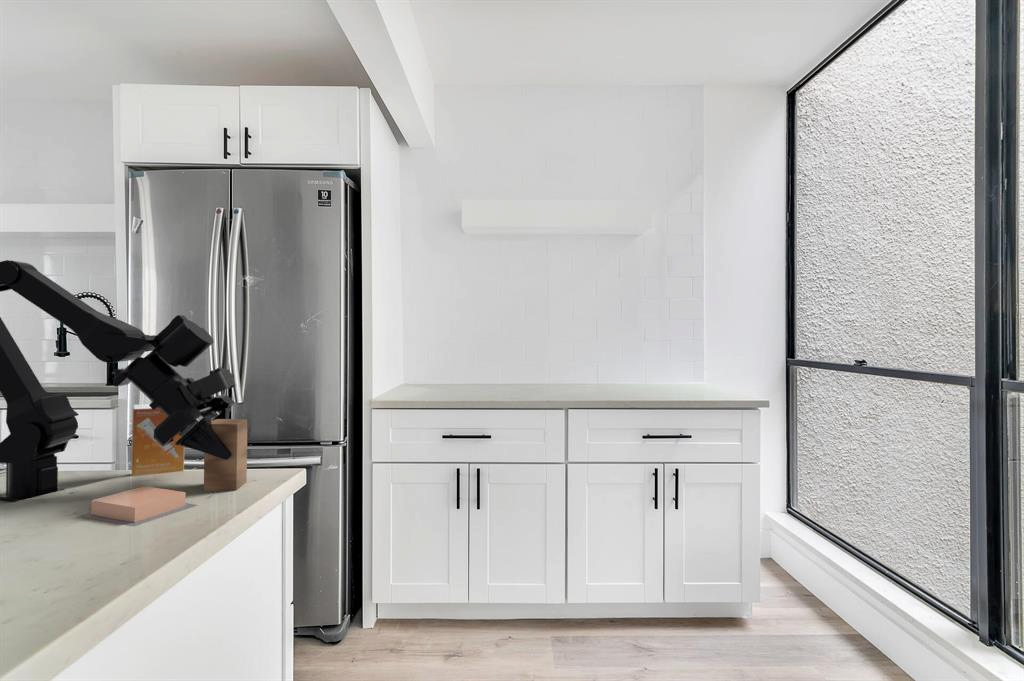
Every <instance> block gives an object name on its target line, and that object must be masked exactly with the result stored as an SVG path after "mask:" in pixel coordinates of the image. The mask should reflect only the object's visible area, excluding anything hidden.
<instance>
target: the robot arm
mask: <svg viewBox="0 0 1024 681" xmlns="http://www.w3.org/2000/svg"><path fill="white" fill-rule="evenodd" d="M6 291H7V292H8V291H14V292H15V293H16V294H18V295H20V296H21V297H22V298H24V299H26V300H27V301H28V302H30V303H32V304H33V305H34V306H36V307H37V308H39V309H40V310H42V311H44V312H45V313H47V314H48V316H49V315H50V316H51V317H52V318H54V319H55V320H56V321H58V322H60V323H61V324H63V325H64V326H66V327H68V328H69V329H70V330H71V331H72V332H73V333H74V334H75V335H76V336H77V338H78V340H79V341H80V343H81V345H82V346H83V347H85V348H86V350H87V351H89V352H90V353H91V355H93V356H94V357H95V358H96V359H98V360H99V361H101V362H104V363H118V362H119V363H120V362H129V361H131V362H130V363H129V364H128V365H127V366H126V367H125V368H117V369H114V378H113V384H112V385H113V387H116V388H117V387H122V386H126V385H127V386H128V385H129V384H130V383H132V384H133V385H134V386H135V387H136V388H137V389H138V390H139V391H141V393H143V395H144V396H145V397H146V398H147V399H149V400H150V401H151V403H150V405H149V406H150V407H151V408H152V409H153V410H155V409H158V408H159V409H160V410H161V411H162V412H164V413H165V414H166V415H167V416H168V417H167V418H166V419H165V420H164V421H163V422H162V423H161V424H159V425H158V426H157V427H156V428H155V429H154V439H155V440H156V441H157V442H158V443H159V444H160V445H161V446H163V447H164V446H166V445H168V444H171V443H172V442H173V441H174V440H173V437H174V436H176V435H177V434H178V433H179V432H180V433H179V435H180V436H181V438H180V439H179V440H178V441H177V442H176V443H175V444H176V445H177V446H178V445H181V446H184V448H188V449H191V450H195V451H198V452H202V453H203V454H204V453H207V454H210V455H213V456H216V457H219V458H222V459H225V460H227V459H229V458H230V457H231V456H232V454H231V453H230V451H229V450H228V448H227V447H226V446H225V445H224V443H223V442H222V441H221V440H220V438H219V437H218V436H217V435H216V433H215V432H214V431H213V430H212V428H211V421H213V420H216V419H230V412H231V408H232V407H233V406H234V404H235V403H236V402H235V401H234V400H233V399H232V398H231V397H230V396H229V395H227V394H226V395H223V394H222V395H217V396H213V395H216V394H218V393H220V392H221V393H222V392H223V391H225V390H230V389H233V388H236V384H235V381H234V378H235V374H234V373H232V372H231V371H230V369H225V368H223V367H222V366H221V367H217V368H216V369H212V370H210V371H209V375H206V376H204V377H202V378H199V379H197V380H195V379H193V378H192V377H185V378H184V377H183V376H182V375H181V374H180V373H179V372H178V371H176V369H175V368H178V367H180V366H181V367H186V368H187V367H189V366H190V365H191V364H192V363H193V362H194V361H195V360H196V359H197V358H198V357H200V356H201V355H202V354H203V353H204V352H205V351H206V350H207V349H209V347H211V346H212V345H213V344H214V342H215V341H214V338H213V337H212V336H211V335H210V333H209V332H208V331H207V330H206V329H205V328H204V327H201V326H199V325H198V324H196V323H195V322H193V321H192V320H190V319H188V318H187V317H186V316H185V315H184V314H183V315H181V314H177V315H176V316H175V317H174V318H172V319H171V321H170V323H169V324H168V325H167V326H166V327H164V328H163V329H162V330H161V331H160V332H159V333H158V334H157V335H149V334H145V333H144V331H143V330H141V329H140V328H138V327H137V326H133V325H132V324H129V323H127V322H126V321H123V320H121V319H118V318H115V317H112V316H110V315H106V314H104V313H102V312H100V311H98V310H96V309H95V308H93V307H92V306H90V305H89V304H88V303H86V302H84V301H83V300H81V299H80V298H79V297H77V296H75V295H74V294H73V293H71V292H70V291H68V290H66V289H65V288H64V287H62V286H60V284H58V283H56V282H55V281H53V280H52V279H51V278H50V277H47V276H46V275H44V273H41V272H40V271H38V269H37V268H36V267H35V266H34V265H33V264H31V263H27V262H23V261H16V260H8V259H6V260H2V261H0V293H1V292H6ZM145 352H149V353H148V354H147V355H146V356H144V357H143V355H144V353H145ZM141 356H142V357H141ZM0 394H1V395H2V397H3V399H4V400H5V401H4V402H5V403H6V415H5V416H6V418H5V423H6V426H7V430H8V432H9V435H8V436H6V437H5V438H4V439H3V440H2V441H1V442H0V464H5V467H6V469H5V474H6V475H5V476H6V478H5V485H6V486H5V492H3V493H0V500H3V501H10V502H19V501H24V500H28V499H33V498H36V497H40V496H44V495H48V494H54V493H56V492H57V493H58V492H61V491H65V490H67V488H62V487H59V486H58V485H59V484H58V483H59V482H58V480H59V477H58V476H59V468H58V456H56V455H55V454H58V453H62V452H65V450H66V448H67V446H68V443H69V441H71V440H72V439H73V438H74V437H75V435H76V432H77V430H78V428H79V423H78V420H77V417H78V416H79V413H78V412H77V411H76V410H74V409H73V407H72V405H71V404H70V401H69V398H68V397H67V395H66V394H65V393H61V394H57V395H56V394H55V395H52V394H51V393H49V392H48V391H47V390H45V389H44V387H43V386H42V384H41V382H40V381H39V379H38V378H37V375H36V374H35V373H34V371H33V369H32V367H31V366H30V364H29V362H28V361H27V359H26V357H25V356H24V354H23V353H22V351H21V349H20V348H19V346H18V344H17V343H16V341H15V339H14V337H13V335H12V334H11V333H10V331H9V329H8V327H7V326H6V324H5V323H4V320H3V319H2V318H1V316H0Z"/></svg>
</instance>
